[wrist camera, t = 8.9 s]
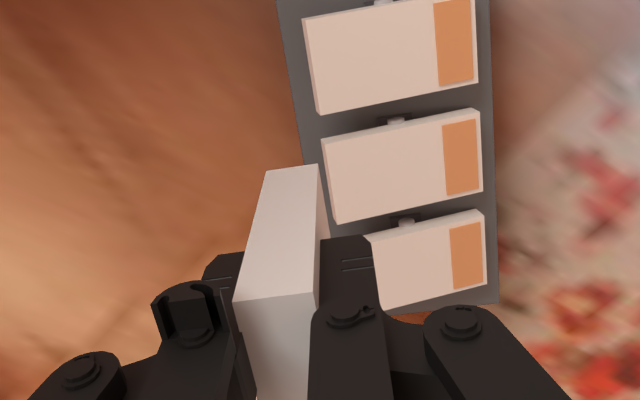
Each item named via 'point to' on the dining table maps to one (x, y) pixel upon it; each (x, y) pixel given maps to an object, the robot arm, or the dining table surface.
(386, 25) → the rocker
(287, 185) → the robot arm
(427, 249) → the rocker
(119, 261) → the dining table surface
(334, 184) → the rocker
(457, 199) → the power strip
